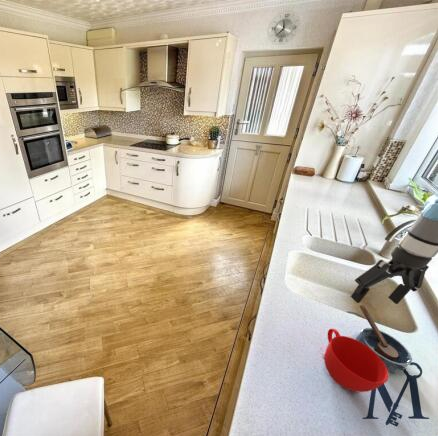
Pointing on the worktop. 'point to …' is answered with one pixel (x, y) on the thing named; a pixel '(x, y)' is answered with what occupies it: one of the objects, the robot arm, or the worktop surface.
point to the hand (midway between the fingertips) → (373, 300)
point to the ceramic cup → (353, 364)
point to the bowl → (404, 356)
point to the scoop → (380, 339)
